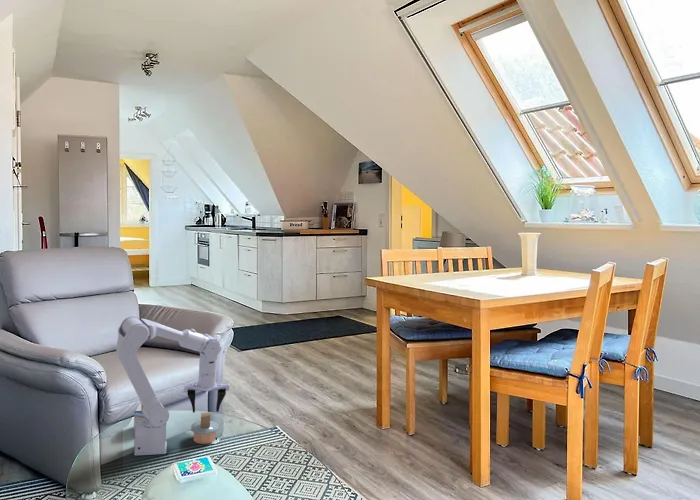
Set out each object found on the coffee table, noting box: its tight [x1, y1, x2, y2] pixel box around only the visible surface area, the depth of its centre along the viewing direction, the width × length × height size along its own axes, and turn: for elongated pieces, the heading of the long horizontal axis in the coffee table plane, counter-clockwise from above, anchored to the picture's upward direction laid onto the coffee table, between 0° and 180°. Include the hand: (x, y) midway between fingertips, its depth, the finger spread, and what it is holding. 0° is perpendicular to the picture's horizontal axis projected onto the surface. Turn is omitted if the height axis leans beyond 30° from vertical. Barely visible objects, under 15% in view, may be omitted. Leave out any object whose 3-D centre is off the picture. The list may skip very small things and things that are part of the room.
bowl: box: [192, 431, 217, 445], centre depth 195 cm, size 7×7×4 cm
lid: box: [190, 412, 220, 434], centre depth 194 cm, size 9×9×5 cm
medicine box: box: [133, 402, 145, 436], centre depth 197 cm, size 8×4×9 cm, turn 5°
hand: (205, 411), depth 194 cm, fingers open, 7 cm apart
